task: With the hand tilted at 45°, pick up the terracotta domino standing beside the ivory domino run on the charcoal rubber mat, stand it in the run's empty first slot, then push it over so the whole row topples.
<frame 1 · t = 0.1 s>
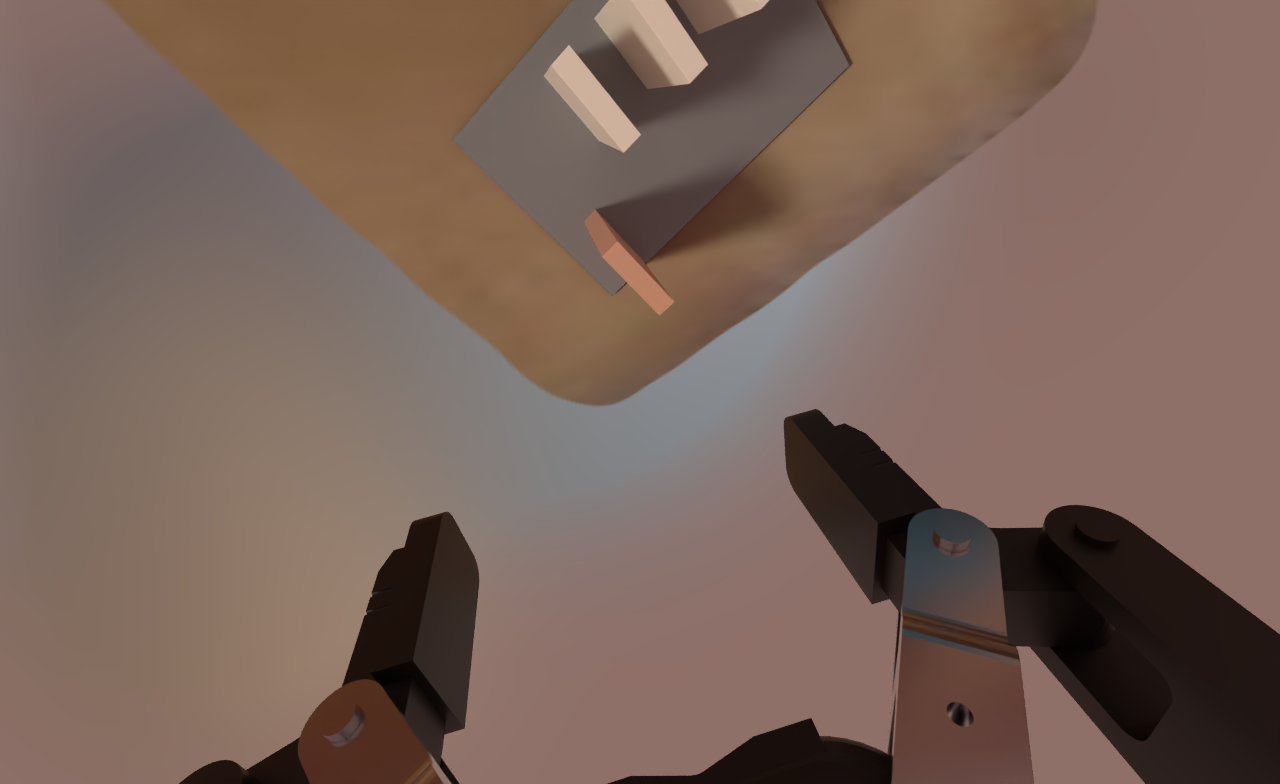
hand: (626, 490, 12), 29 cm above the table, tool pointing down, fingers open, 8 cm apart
terracotta tile: (613, 240, 38), resting on mat
mat: (656, 101, 34), on the table
domino 2: (578, 102, 33), resting on mat
domino 3: (628, 47, 32), resting on mat
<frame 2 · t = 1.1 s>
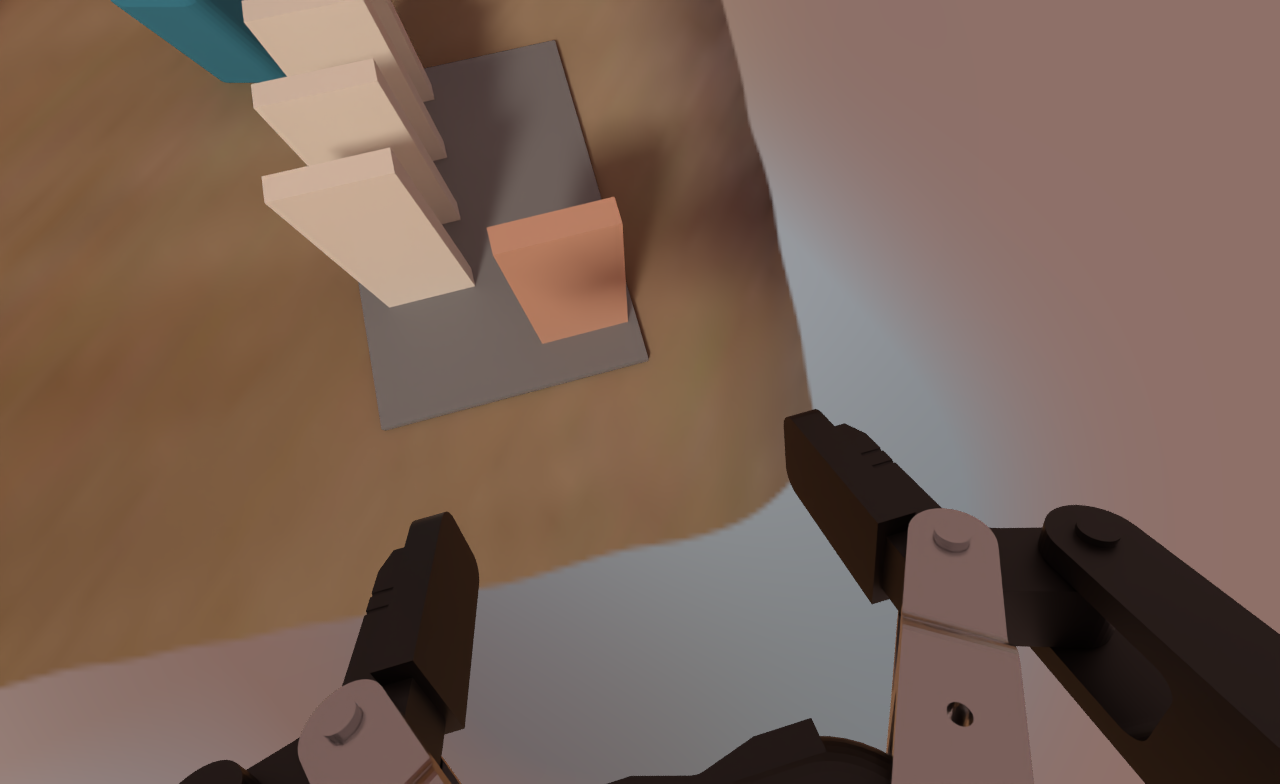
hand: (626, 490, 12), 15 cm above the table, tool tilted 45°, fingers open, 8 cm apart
domino 5: (394, 100, 33), resting on mat
terracotta tile: (582, 323, 29), resting on mat
domino 4: (405, 158, 31), resting on mat
mat: (479, 218, 31), on the table
block: (264, 33, 35), on the table
domino 2: (430, 287, 29), resting on mat
domino 3: (417, 221, 30), resting on mat
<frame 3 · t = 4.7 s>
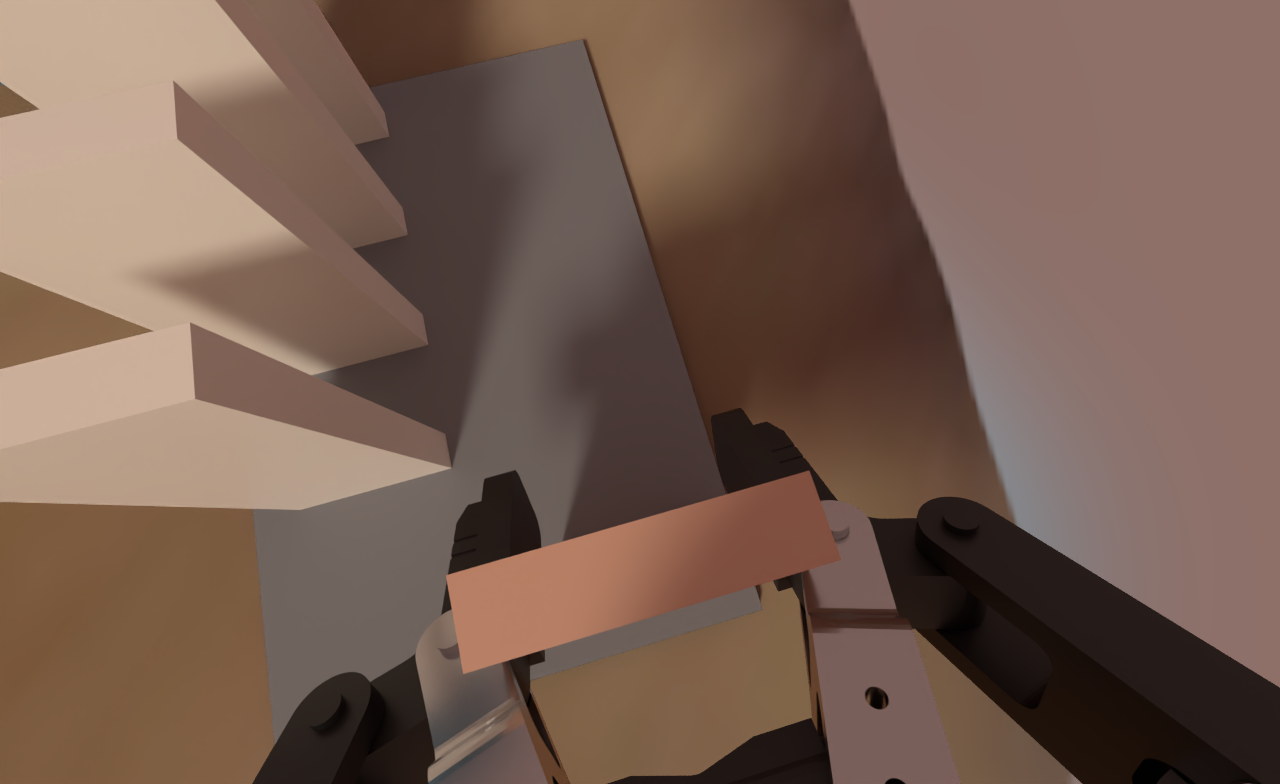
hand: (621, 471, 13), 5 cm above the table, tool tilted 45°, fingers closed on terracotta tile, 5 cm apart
domino 5: (323, 139, 20), resting on mat
terracotta tile: (642, 539, 16), resting on mat, touching gripper
domino 4: (338, 237, 19), resting on mat
mat: (460, 339, 18), on the table
domino 2: (374, 471, 17), resting on mat
domino 3: (355, 347, 18), resting on mat
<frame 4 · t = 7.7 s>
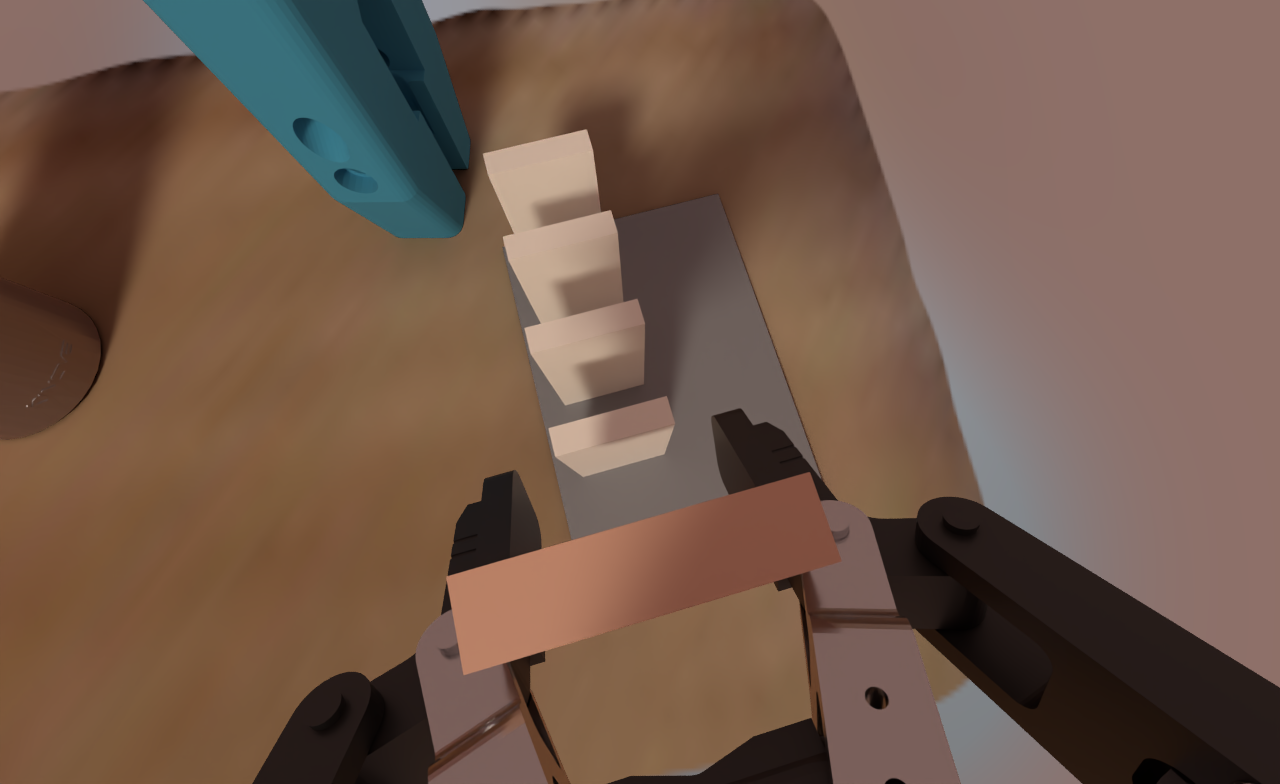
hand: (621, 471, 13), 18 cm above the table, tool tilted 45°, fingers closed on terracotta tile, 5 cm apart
domino 5: (567, 258, 33), resting on mat
terracotta tile: (642, 539, 16), point 14 cm above the table, touching gripper
domino 4: (584, 320, 32), resting on mat
mat: (659, 380, 32), on the table
block: (432, 184, 36), on the table
domino 2: (621, 455, 30), resting on mat
domino 3: (602, 385, 31), resting on mat
when the fingers open (5 cm above the table, at t = 11.1 s): terracotta tile stays where it is, resting on mat.
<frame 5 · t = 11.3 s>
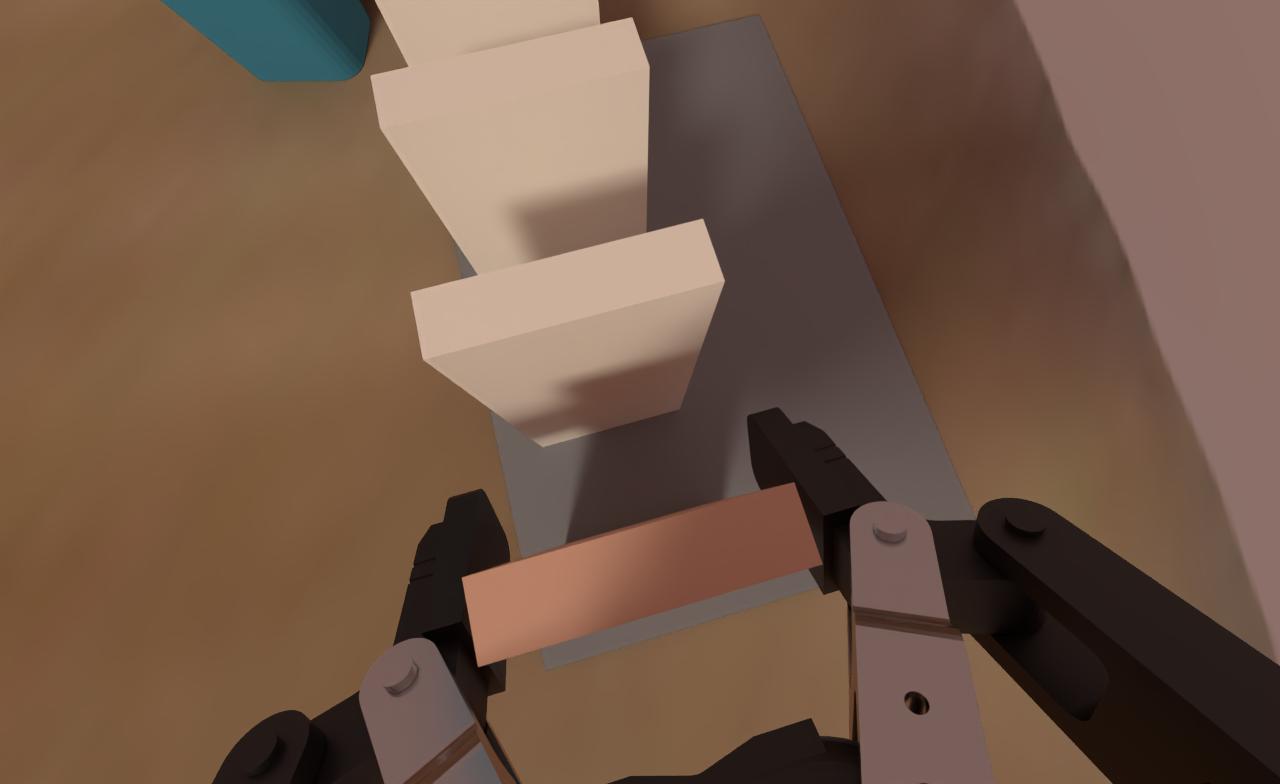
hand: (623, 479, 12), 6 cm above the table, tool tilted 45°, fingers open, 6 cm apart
terracotta tile: (642, 541, 17), resting on mat
domino 4: (549, 198, 20), resting on mat
mat: (669, 292, 20), on the table
block: (321, 8, 23), on the table
domino 2: (607, 412, 18), resting on mat
domino 3: (576, 299, 19), resting on mat
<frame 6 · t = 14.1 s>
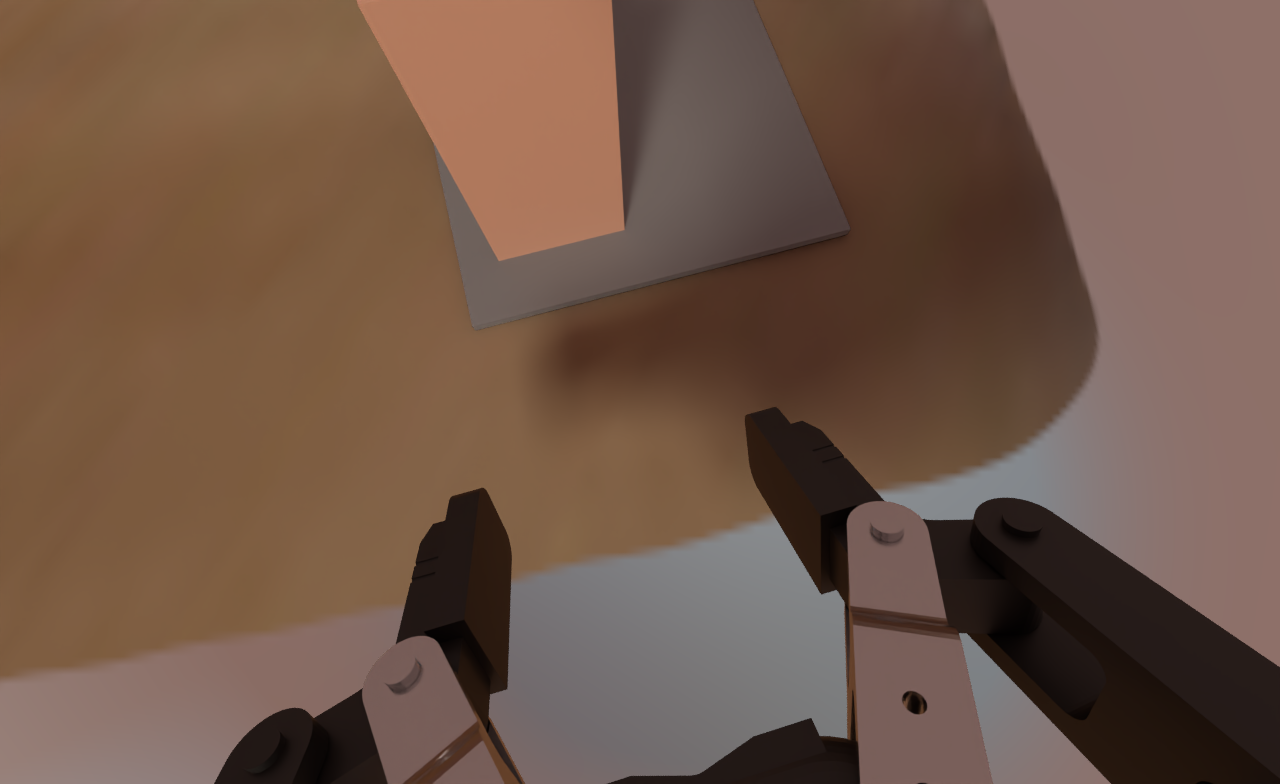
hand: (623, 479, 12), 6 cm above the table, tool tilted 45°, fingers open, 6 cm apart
terracotta tile: (558, 232, 20), resting on mat
mat: (592, 51, 22), on the table
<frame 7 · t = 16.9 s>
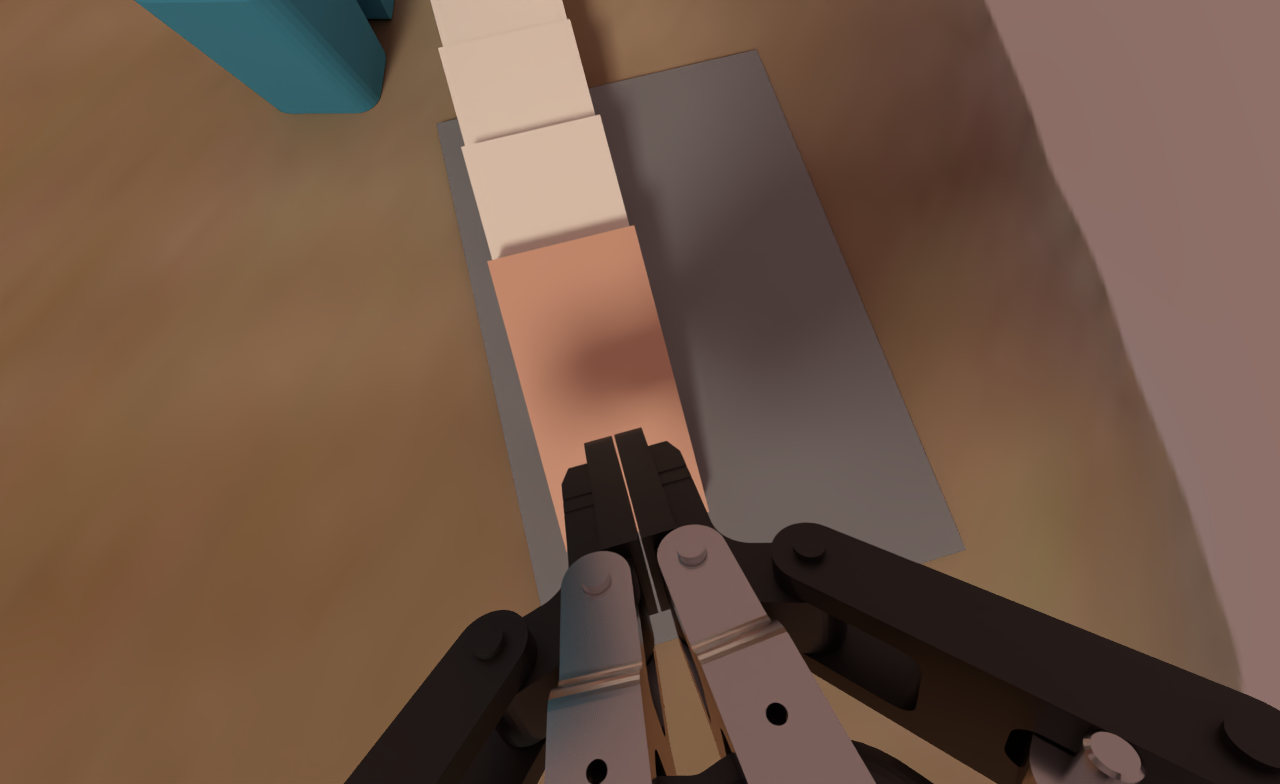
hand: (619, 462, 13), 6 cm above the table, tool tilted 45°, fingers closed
terracotta tile: (637, 526, 18), point 1 cm above the table, tilted 74°, touching domino 2, mat
domino 4: (549, 197, 21), point 1 cm above the table, tilted 74°, touching domino 3, domino 5
mat: (671, 317, 21), on the table
block: (339, 42, 24), on the table
domino 2: (605, 403, 19), point 1 cm above the table, tilted 74°, touching domino 3, mat, terracotta tile
domino 3: (576, 297, 20), point 1 cm above the table, tilted 74°, touching domino 2, domino 4, mat
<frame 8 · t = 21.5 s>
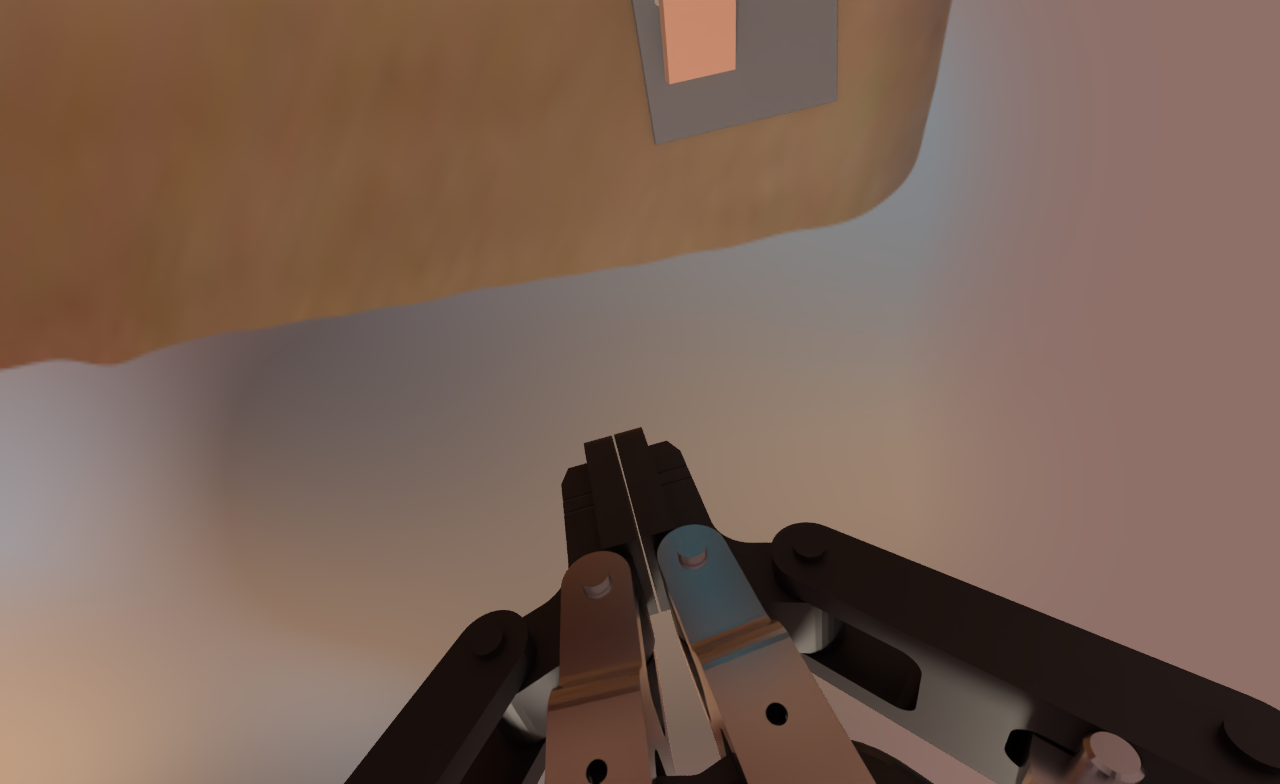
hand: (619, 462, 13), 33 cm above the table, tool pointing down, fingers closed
terracotta tile: (700, 74, 37), point 1 cm above the table, tilted 74°, touching domino 2, mat
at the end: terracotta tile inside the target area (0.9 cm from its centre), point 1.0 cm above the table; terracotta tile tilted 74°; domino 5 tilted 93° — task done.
